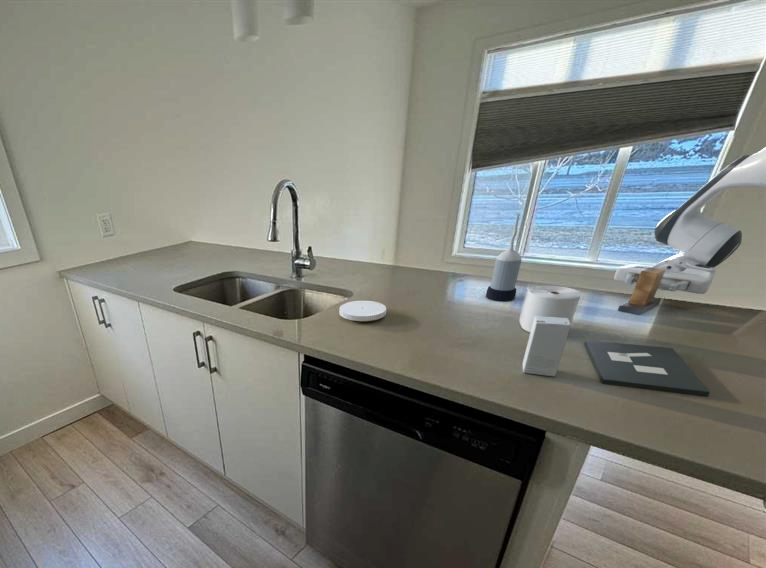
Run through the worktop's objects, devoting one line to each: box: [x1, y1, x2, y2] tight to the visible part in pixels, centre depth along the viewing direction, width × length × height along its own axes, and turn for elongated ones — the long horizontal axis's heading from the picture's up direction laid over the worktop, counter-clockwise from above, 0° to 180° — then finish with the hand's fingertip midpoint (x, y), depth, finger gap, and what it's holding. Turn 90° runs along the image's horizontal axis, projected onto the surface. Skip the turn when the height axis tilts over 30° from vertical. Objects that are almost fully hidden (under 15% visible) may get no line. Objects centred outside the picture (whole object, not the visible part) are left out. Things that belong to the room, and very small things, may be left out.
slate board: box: [583, 339, 711, 397], centre depth 87 cm, size 16×20×1 cm
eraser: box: [617, 266, 666, 316], centre depth 111 cm, size 5×12×10 cm, turn 121°
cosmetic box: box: [522, 316, 572, 377], centre depth 86 cm, size 6×4×12 cm
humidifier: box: [485, 213, 526, 303], centre depth 123 cm, size 8×8×25 cm
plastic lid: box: [338, 300, 387, 322], centre depth 125 cm, size 14×14×2 cm
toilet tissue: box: [519, 284, 582, 334], centre depth 105 cm, size 11×12×10 cm
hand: (649, 284), depth 111 cm, fingers open, 8 cm apart
